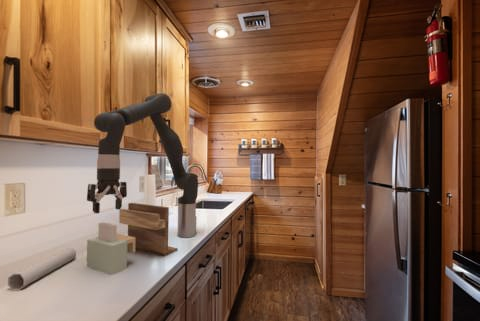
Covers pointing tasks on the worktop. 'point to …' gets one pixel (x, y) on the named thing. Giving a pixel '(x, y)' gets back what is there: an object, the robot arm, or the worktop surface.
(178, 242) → the worktop surface
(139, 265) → the worktop surface
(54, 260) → the tube
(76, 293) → the worktop surface
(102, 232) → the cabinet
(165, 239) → the wall board
